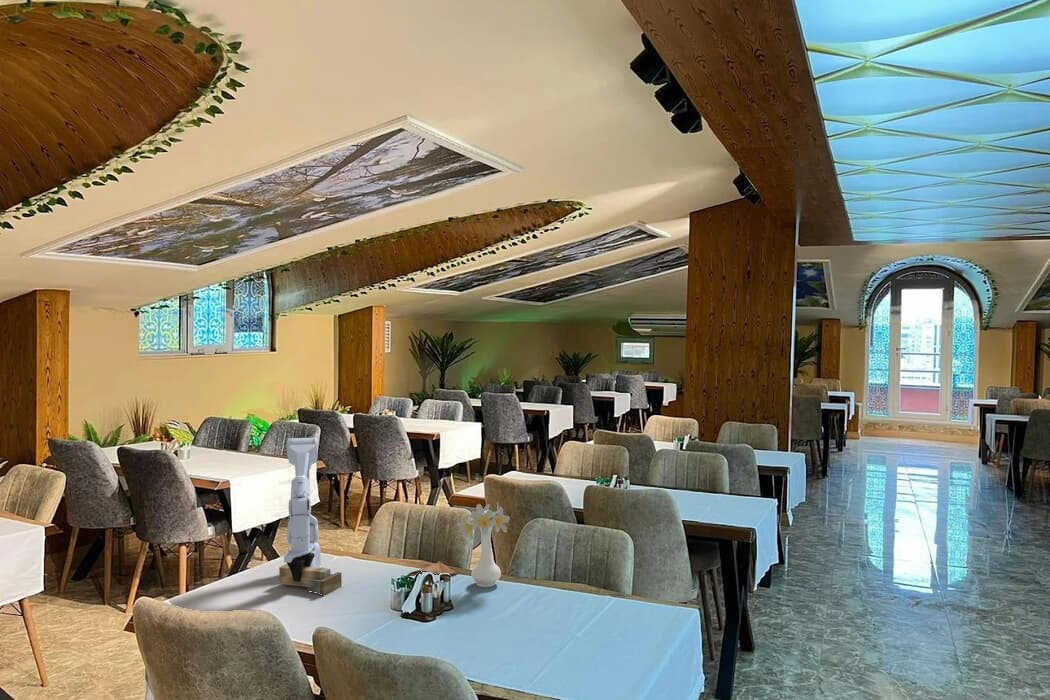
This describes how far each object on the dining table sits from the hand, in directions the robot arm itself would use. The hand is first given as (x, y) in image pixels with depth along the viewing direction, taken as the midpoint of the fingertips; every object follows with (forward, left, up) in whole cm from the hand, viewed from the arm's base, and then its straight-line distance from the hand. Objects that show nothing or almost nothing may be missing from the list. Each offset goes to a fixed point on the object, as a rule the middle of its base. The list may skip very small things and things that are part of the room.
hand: (300, 579), depth 253 cm
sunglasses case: (-22, +34, -3) cm, 41 cm away
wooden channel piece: (0, +8, -2) cm, 8 cm away
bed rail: (0, +2, -1) cm, 2 cm away
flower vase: (-23, +53, -3) cm, 58 cm away
